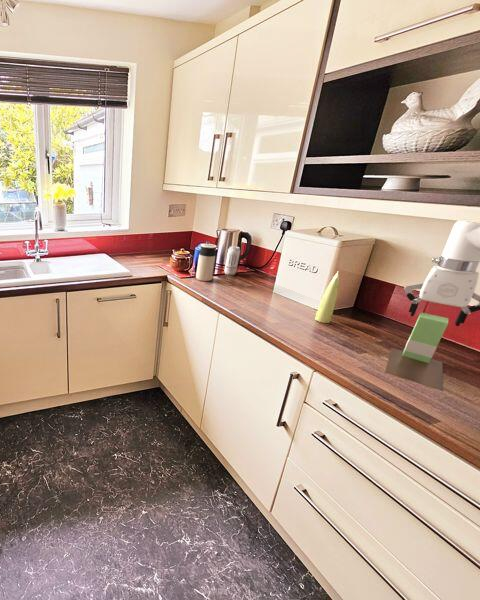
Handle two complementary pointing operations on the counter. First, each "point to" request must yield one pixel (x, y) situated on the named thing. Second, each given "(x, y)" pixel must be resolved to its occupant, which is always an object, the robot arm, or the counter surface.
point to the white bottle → (232, 260)
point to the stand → (415, 369)
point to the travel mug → (206, 262)
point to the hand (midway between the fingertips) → (433, 319)
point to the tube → (328, 301)
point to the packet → (425, 337)
